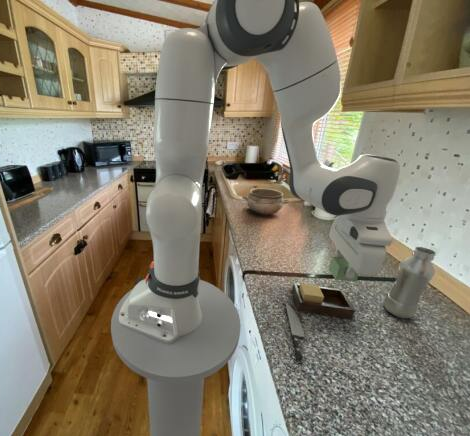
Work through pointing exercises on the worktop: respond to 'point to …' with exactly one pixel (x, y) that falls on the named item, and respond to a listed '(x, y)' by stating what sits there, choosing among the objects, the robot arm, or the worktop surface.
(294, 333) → the chef's knife
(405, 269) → the plastic bottle
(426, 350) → the worktop surface
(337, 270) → the green block
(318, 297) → the tan block
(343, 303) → the brown wooden tray
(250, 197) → the cooking pot
